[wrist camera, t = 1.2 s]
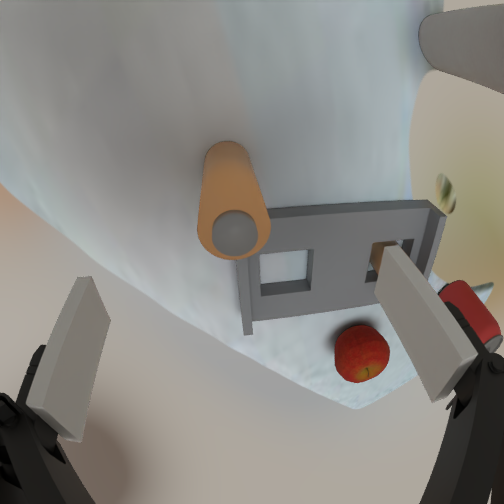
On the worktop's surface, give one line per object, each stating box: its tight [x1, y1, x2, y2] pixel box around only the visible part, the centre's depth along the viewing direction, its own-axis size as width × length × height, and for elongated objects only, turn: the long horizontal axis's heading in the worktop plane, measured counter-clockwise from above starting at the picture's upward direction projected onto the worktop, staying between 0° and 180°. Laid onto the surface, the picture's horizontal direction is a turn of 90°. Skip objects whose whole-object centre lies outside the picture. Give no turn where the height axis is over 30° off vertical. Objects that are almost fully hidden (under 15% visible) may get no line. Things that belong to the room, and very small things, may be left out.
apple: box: [335, 325, 390, 383], centre depth 39 cm, size 8×8×8 cm
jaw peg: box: [197, 141, 271, 260], centre depth 21 cm, size 4×4×13 cm
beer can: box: [438, 280, 503, 353], centre depth 36 cm, size 7×7×12 cm
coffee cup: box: [419, 4, 504, 94], centre depth 15 cm, size 10×10×15 cm
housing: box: [236, 200, 447, 335], centre depth 29 cm, size 13×22×13 cm, turn 93°
